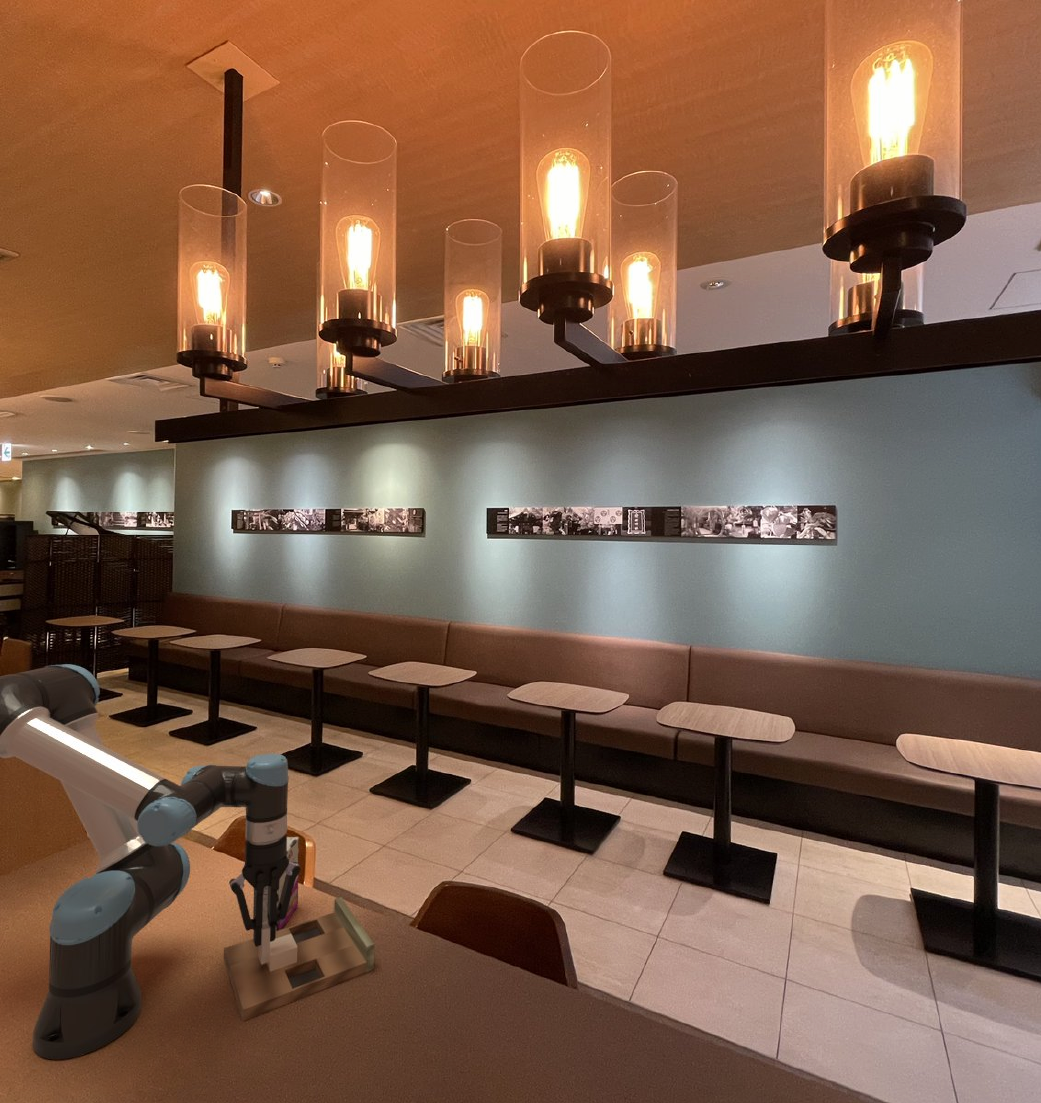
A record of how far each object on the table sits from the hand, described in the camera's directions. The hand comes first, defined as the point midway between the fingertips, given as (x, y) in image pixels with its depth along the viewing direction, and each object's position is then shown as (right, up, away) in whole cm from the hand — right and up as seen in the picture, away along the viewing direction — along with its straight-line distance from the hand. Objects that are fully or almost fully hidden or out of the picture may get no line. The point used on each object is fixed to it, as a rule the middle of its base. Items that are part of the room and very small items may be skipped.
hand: (264, 959), depth 115 cm
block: (+2, -2, +2) cm, 4 cm away
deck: (+5, -4, +4) cm, 7 cm away
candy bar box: (-5, -4, +18) cm, 19 cm away
